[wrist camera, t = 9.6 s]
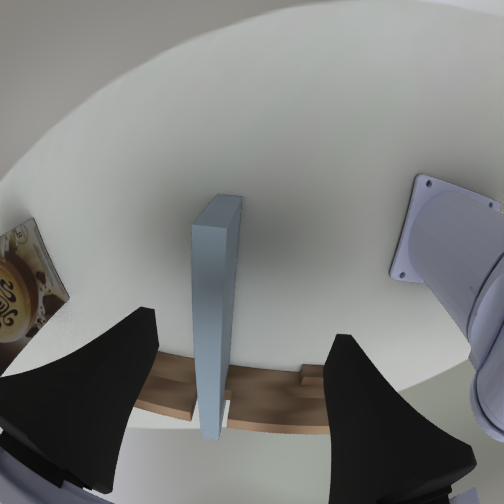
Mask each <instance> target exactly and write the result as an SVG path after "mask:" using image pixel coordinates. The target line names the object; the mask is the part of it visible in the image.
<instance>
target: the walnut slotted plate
mask: <svg viewBox="0 0 504 504" xmlns="http://www.w3.org/2000/svg"><path fill="white" fill-rule="evenodd" d="M323 367H324V366H319V365H303V366H302V369H301V371H300V373H298V372H285V371H274V370H265V369H256V368H248V367H240V366H233V365H229V367H228V372H227V377H226V382H225V391H224V400H231V401H230V407H229V413H228V419H227V428H232V429H240V430H248V431H258V432H269V433H285V434H330V428H329V422H328V415H327V409H326V402H325V396H324V386H323ZM197 397H198V396H197V384H196V370H195V359H191V358H186V357H181V356H176V355H171V354H167V353H162V352H158V351H157V354H156V358H155V360H154V363H153V366H152V368H151V371H150V373H149V375H148V377H147V379H146V381H145V383H144V385H143V387H142V389H141V391H140V394H139V396H138V398H137V400H136V402H135V404H134V406H133V407H136V408H140V409H143V410H147V411H150V412H154V413H157V414H161V415H165V416H169V417H173V418H178V419H182V420H187V421H191V420H192V416H193V412H194V409H195V405H196V401H197Z"/></svg>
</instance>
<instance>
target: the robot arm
mask: <svg viewBox="0 0 504 504" xmlns="http://www.w3.org/2000/svg"><path fill="white" fill-rule="evenodd" d="M428 180H429V185H428V186H426V182H427V181H428ZM489 203H490V205H489ZM500 208H501V206H500V203H499V202H497V201H495V200H492V199H490V198H488V197H485V196H483V195H480V194H478V193H475V192H473V191H470V190H467V189H465V188H462V187H459V186H456V185H454V184H451V183H448V182H445V181H442V180H439V179H436V178H433V177H430V176H427V175H423V174H419V175H418V176H417V177H416V179H415V184H414V189H413V193H412V197H411V202H410V206H409V210H408V213H407V217H406V221H405V225H404V228H403V232H402V235H401V239H400V242H399V245H398V249H397V252H396V255H395V258H394V261H393V264H392V267H391V270H390V277H391V278H392V279H393V280H398V281H407V282H416V283H425V284H426V285H427V286H428V287H429V288H430V290H431V291H432V292H433V293H434V295H435V296H436V297H437V299H438V300H439V301H440V303H441V304H442V305H443V307H444V308H445V309H446V311H447V312H448V313H449V315H450V316H451V317H452V319H453V320H454V322H455V323H456V324H457V326H458V327H459V329H460V330H461V332H462V333H463V335H464V336H465V338H466V339H467V341H468V342H469V343H470V346H471V352H470V355H469V357H468V358H469V360H470V361H471V363H472V365H473V367H474V368H475V370H476V373H475V375H474V377H473V380H472V383H471V387H470V404H471V408H472V412H473V414H474V417H475V419H476V421H477V422H478V424H479V425H480V427H481V428H482V429H483V430H484V431H485V432H486V433H487V434H488V435H489V436H490V437H492V438H493V439H495V440H498V441H500V442H504V215H502V214H501V213H499V212H500ZM402 272H403V275H401V276H400V273H402ZM158 348H159V341H158V334H157V326H156V318H155V310H154V309H150V308H145V307H139V308H138V309H137V310H135V311H134V312H132V313H131V314H130V315H128V316H127V317H126V318H124V319H123V320H122V321H120V322H119V323H117V324H116V325H115V326H113V327H112V328H110V329H109V330H108V331H106V332H105V333H103V334H102V335H100V336H99V337H97V338H96V339H94V340H93V341H91V342H90V343H88V344H86V345H85V346H83V347H82V348H80V349H78V350H76V351H74V352H73V353H71V354H69V355H67V356H65V357H63V358H61V359H58V360H56V361H54V362H51V363H49V364H46V365H44V366H42V367H39V368H36V369H33V370H30V371H26V372H23V373H19V374H15V375H10V376H5V377H0V427H1V428H2V429H3V432H2V434H0V502H1V503H2V504H114V503H112V502H109V501H107V500H104V499H102V498H100V497H98V496H95V495H93V494H91V493H89V492H87V491H85V490H83V487H84V488H86V489H89V490H92V489H93V490H96V491H98V492H100V493H103V494H108V493H111V492H112V490H113V482H114V475H115V469H116V464H117V460H118V455H119V451H120V446H121V443H122V439H123V435H124V432H125V428H126V426H127V422H128V419H129V416H130V414H131V411H132V409H133V406H134V404H135V402H136V400H137V398H138V396H139V394H140V391H141V389H142V387H143V385H144V383H145V381H146V379H147V377H148V375H149V373H150V371H151V368H152V366H153V363H154V360H155V358H156V354H157V351H158ZM323 386H324V396H325V402H326V409H327V415H328V422H329V428H330V435H331V484H330V495H329V503H328V504H480V503H479V498H478V494H477V490H476V487H473V488H471V489H469V490H467V491H465V492H463V493H461V494H459V495H457V496H455V497H453V498H451V499H449V498H448V494H449V493H451V492H452V488H451V484H453V483H455V482H456V481H458V480H459V479H461V478H462V477H464V476H465V475H467V474H468V473H469V472H471V471H472V470H473V469H474V468H475V467H476V465H477V462H476V459H475V456H474V453H473V450H472V447H471V446H470V445H468V444H466V443H464V442H462V441H460V440H458V439H456V438H454V437H453V436H451V435H449V434H448V433H446V432H444V431H443V430H441V429H440V428H438V427H437V426H435V425H434V424H433V423H431V422H430V421H429V420H427V419H426V418H425V417H423V416H422V415H421V414H420V413H418V412H417V411H416V410H415V409H414V408H413V407H412V406H411V405H410V404H409V403H407V402H406V401H405V400H404V399H403V398H402V397H401V396H400V395H399V394H398V393H397V392H396V391H395V389H394V388H393V387H392V386H391V385H390V384H389V383H388V382H387V380H386V379H385V378H384V377H383V376H382V374H381V373H380V372H379V371H378V369H377V368H376V367H375V366H374V364H373V363H372V362H371V360H370V359H369V358H368V356H367V355H366V354H365V353H364V351H363V350H362V348H361V347H360V346H359V344H358V343H357V342H356V340H355V339H354V338H353V337H352V335H347V334H337V335H336V337H335V340H334V342H333V345H332V347H331V350H330V352H329V355H328V357H327V360H326V362H325V365H324V367H323Z"/></svg>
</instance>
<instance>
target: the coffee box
mask: <svg viewBox="0 0 504 504" xmlns="http://www.w3.org/2000/svg"><path fill="white" fill-rule="evenodd" d="M68 300H69V297H68V295H67V293H66V291H65V289H64V287H63V285H62V283H61V281H60V279H59V277H58V275H57V273H56V271H55V269H54V267H53V265H52V263H51V260H50V258H49V256H48V254H47V251H46V249H45V247H44V244H43V242H42V239H41V237H40V234H39V232H38V229H37V226H36V224H35V221H34V219H33V218H32V219H30V220H28V221H26V222H24V223H22V224H20V225H19V226H17V227H15V228H13V229H12V230H10V231H8V232H6V233H5V234H3V235H1V236H0V377H1V375H2V374H3V373H4V372H5V370H6V369H7V368H8V366H9V365H10V364H11V363H12V362H13V360H14V359H15V358H16V357H17V355H18V354H19V353H20V352H21V351H22V350H23V348H24V347H25V346H26V345H27V344H28V343H29V341H30V340H31V339H32V338H33V337H34V336H35V335H36V334H37V332H38V331H39V330H40V329H41V328H42V327H43V326H44V325H45V324H46V323H47V321H48V320H49V319H50V318H51V317H52V316H53V315H54V314H55V313H56V312H57V311H58V310H59V309H60V308H61V307H62V306H63V305H64V304H65V303H66V302H67V301H68Z"/></svg>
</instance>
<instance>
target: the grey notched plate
mask: <svg viewBox="0 0 504 504" xmlns="http://www.w3.org/2000/svg"><path fill="white" fill-rule="evenodd" d="M241 204H242V197H241V196H231V195H221V194H217V195H216V197H215V198H214V199H213V200H212V201H211V202H210V204H209V205H208V206H207V207H206V208H205V209H204V211H203V212H202V213H201V214H200V215H199V217H198V218H197V219H196V220H195V221H194V223H193V224H192V312H193V336H194V355H195V370H196V384H197V396H198V407H199V417H200V427H201V435H202V437H204V438H210V439H216V440H219V437H220V432H221V426H222V420H223V415H224V409H225V404H226V400H224V391H225V382H226V377H227V372H228V367H229V361H230V346H231V331H232V317H233V303H234V290H235V277H236V264H237V251H238V239H239V227H240V215H241Z"/></svg>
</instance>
